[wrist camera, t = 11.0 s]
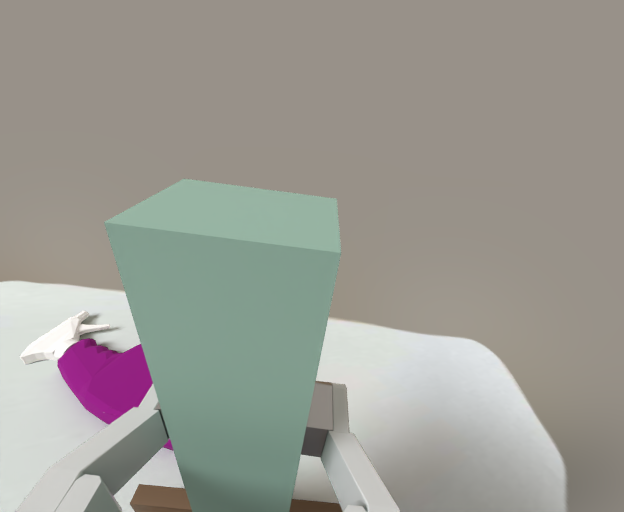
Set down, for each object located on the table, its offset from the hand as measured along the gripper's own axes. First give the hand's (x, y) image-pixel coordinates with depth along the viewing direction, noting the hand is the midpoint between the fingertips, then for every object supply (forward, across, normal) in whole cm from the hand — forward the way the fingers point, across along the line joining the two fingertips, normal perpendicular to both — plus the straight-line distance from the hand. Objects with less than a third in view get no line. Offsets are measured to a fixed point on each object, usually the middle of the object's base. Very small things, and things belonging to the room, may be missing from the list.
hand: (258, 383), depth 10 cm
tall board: (-1, 0, -12) cm, 13 cm away
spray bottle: (+12, -16, -19) cm, 28 cm away
